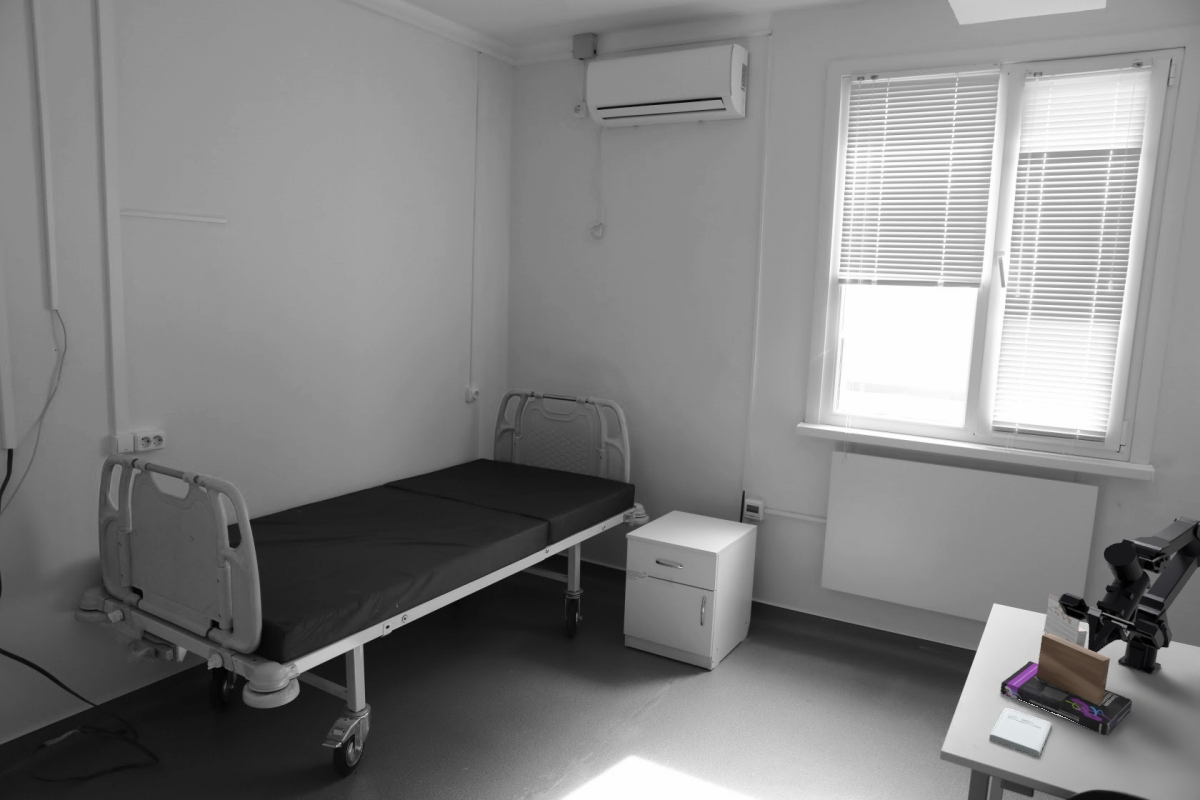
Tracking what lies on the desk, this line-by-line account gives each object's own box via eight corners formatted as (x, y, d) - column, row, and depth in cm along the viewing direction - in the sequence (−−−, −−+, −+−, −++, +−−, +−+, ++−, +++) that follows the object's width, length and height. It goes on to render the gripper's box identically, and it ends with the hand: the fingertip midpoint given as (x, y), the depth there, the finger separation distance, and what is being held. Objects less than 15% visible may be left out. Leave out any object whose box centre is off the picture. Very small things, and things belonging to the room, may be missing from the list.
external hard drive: (988, 741, 149) (1003, 713, 158) (1038, 759, 144) (1051, 729, 154) (989, 733, 148) (1004, 706, 158) (1040, 751, 143) (1052, 721, 153)
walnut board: (1043, 673, 168) (1049, 632, 167) (1103, 701, 158) (1110, 658, 157) (1036, 676, 167) (1042, 635, 166) (1096, 704, 157) (1103, 661, 156)
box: (999, 697, 166) (1106, 740, 151) (1000, 681, 165) (1108, 722, 151) (1027, 675, 175) (1131, 714, 160) (1029, 660, 174) (1134, 697, 160)
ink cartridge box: (1052, 630, 196) (1058, 592, 194) (1084, 652, 185) (1090, 612, 183) (1042, 630, 196) (1048, 592, 194) (1074, 652, 185) (1080, 612, 183)
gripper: (1183, 630, 167) (1149, 693, 163) (1088, 597, 182) (1055, 654, 178) (1172, 601, 161) (1136, 665, 157) (1075, 569, 177) (1040, 627, 172)
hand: (1090, 653), depth 166 cm, fingers closed
